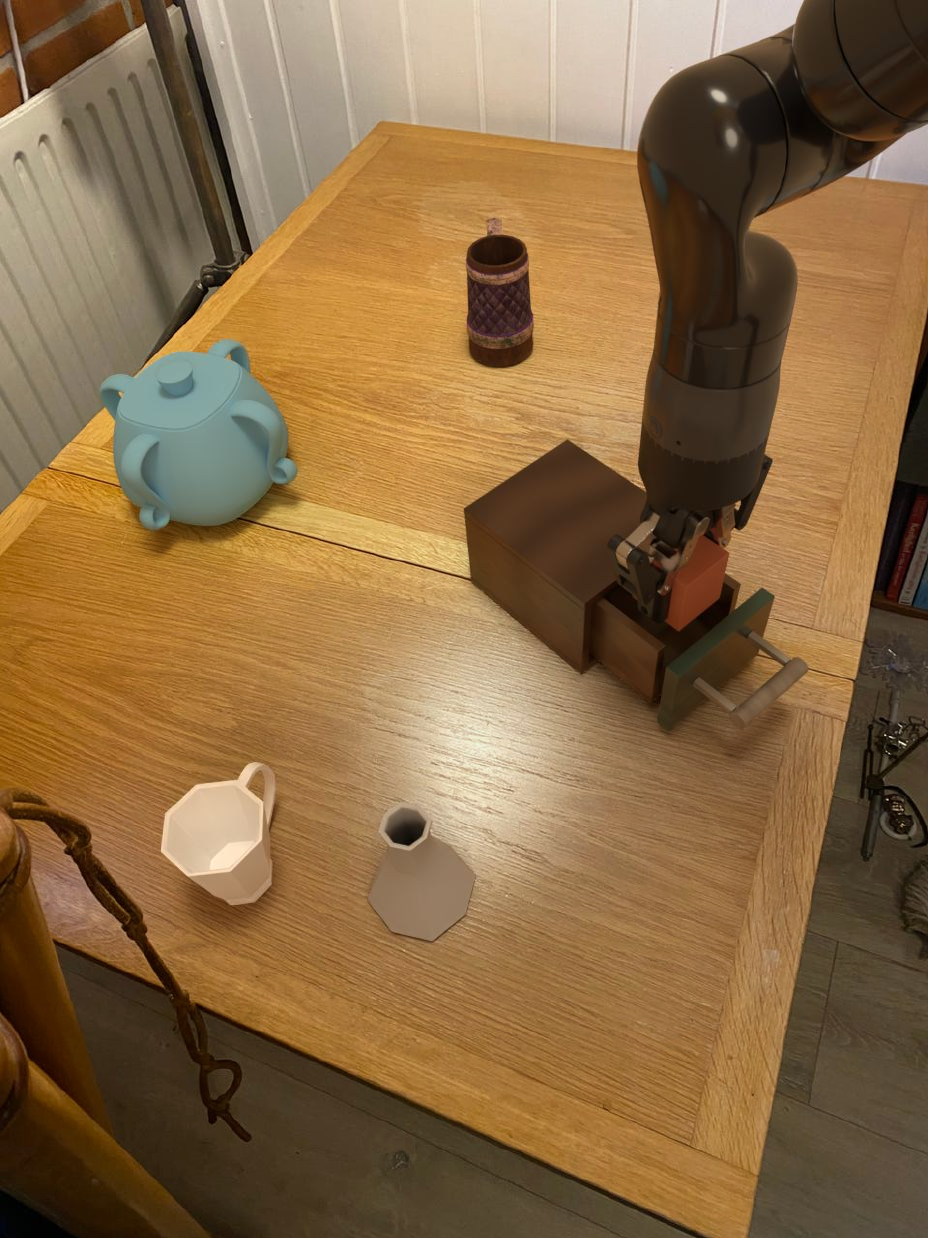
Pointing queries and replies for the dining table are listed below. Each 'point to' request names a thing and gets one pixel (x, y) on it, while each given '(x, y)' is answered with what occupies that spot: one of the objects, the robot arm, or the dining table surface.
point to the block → (696, 583)
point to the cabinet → (552, 544)
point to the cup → (224, 836)
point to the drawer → (691, 653)
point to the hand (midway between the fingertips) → (677, 594)
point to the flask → (418, 876)
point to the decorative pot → (196, 437)
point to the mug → (498, 298)
